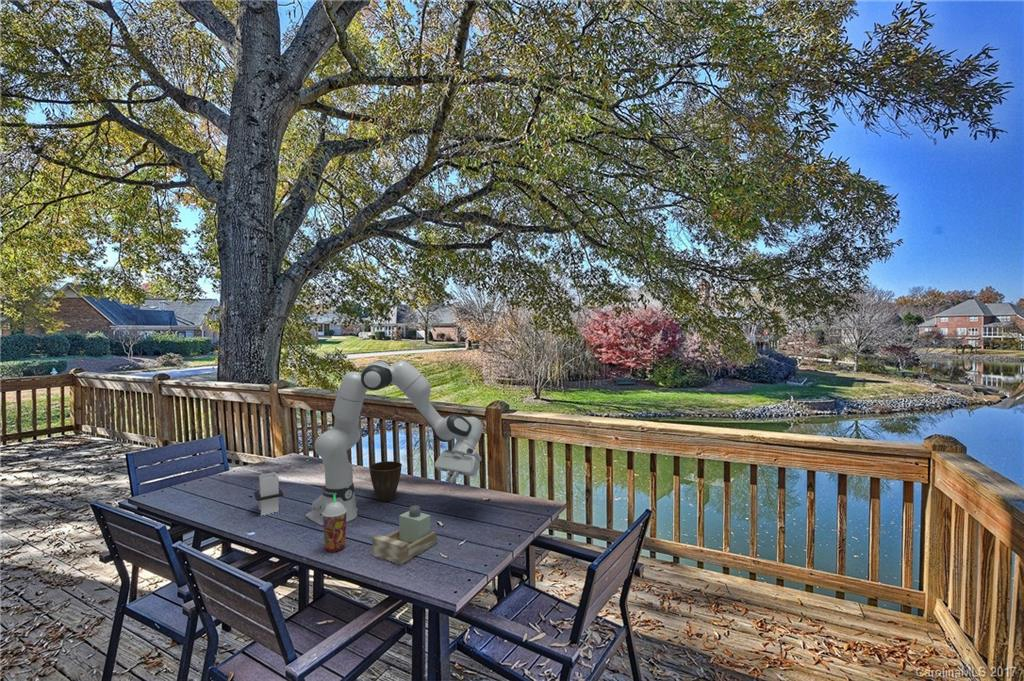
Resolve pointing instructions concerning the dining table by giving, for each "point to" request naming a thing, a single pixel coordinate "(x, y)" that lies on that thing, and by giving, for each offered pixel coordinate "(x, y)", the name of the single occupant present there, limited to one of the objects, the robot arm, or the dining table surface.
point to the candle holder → (268, 493)
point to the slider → (413, 525)
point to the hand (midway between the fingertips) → (448, 481)
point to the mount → (400, 547)
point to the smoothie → (334, 526)
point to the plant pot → (385, 479)
